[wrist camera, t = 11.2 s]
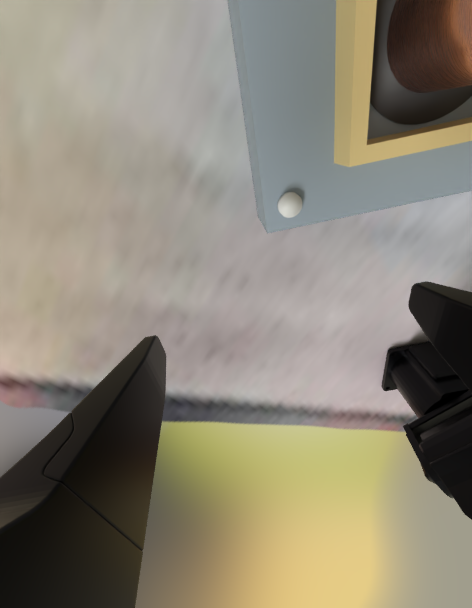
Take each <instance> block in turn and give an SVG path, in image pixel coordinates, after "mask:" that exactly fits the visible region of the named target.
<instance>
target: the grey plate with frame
mask: <svg viewBox="0 0 472 608" xmlns="http://www.w3.org/2000/svg"><path fill="white" fill-rule="evenodd" d="M395 2H396V0H228V5H229V12H230V19H231V27H232V34H233V41H234V48H235V55H236V62H237V70H238V77H239V84H240V91H241V98H242V105H243V112H244V120H245V127H246V134H247V141H248V148H249V155H250V162H251V170H252V177H253V184H254V191H255V198H256V205H257V212H258V217H259V219H260V221H261V223H262V225H263V226H264V228H265V230H266V232H267V233H271V232H276V231H281V230H286V229H291V228H295V227H300V226H305V225H310V224H315V223H319V222H324V221H329V220H334V219H339V218H343V217H348V216H353V215H358V214H362V213H367V212H372V211H377V210H382V209H386V208H391V207H396V206H401V205H406V204H410V203H415V202H420V201H425V200H429V199H434V198H439V197H444V196H449V195H453V194H458V193H463V192H468V191H472V85H469V86H464V87H458V88H452V89H446V90H440V91H434V92H428V93H416V92H412V91H409V90H407V89H405V88H404V87H403V86H401V85H400V84H399V83H398V82H397V80H396V79H395V77H394V75H393V73H392V71H391V69H390V65H389V62H388V56H387V34H388V26H389V22H390V18H391V14H392V11H393V8H394V5H395Z"/></svg>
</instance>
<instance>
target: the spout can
mask: <svg viewBox="0 0 472 608" xmlns="http://www.w3.org/2000/svg"><path fill="white" fill-rule="evenodd" d="M387 56H388V62H389V65H390V69H391V71H392V73H393V75H394V77H395V79H396V80H397V82H398V83H399V84H400V85H401V86H403V87H404V88H405V89H407V90H409V91H412V92H416V93H428V92H434V91H440V90H446V89H452V88H458V87H464V86H469V85H472V0H396V2H395V5H394V8H393V11H392V14H391V18H390V22H389V26H388V34H387Z"/></svg>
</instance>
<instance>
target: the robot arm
mask: <svg viewBox="0 0 472 608" xmlns="http://www.w3.org/2000/svg"><path fill="white" fill-rule="evenodd" d="M409 309H410V311H411V313H412V314H413V316H414V318H415V319H416V321H417V322H418V324H419V325H420V327H421V328H422V330H423V331H424V333H425V334H426V336H427V337H428V339H429V340H430V342H426V343H421V344H415V345H410V346H405V347H400V348H394V349H391V350H389V351H388V352H387V357H386V363H385V369H384V375H383V381H382V388H383V390H384V391H389V390H395V389H398V390H399V392H400V393H401V394H402V396H403V397H404V399H405V400H406V401H407V403H408V404H409V406H410V407H411V408H412V410H413V411H414V412H415V414H416V415H417V417H418V419H416V420H415V421H413V422H411V423H409V424H408V423H407V424H405V425H404V426H403V427H404V429H405V431H406V433H407V434H406V436H407V438H408V440H409V442H410V443H411V445H412V447H413V449H414V451H415V453H416V455H417V457H418V459H419V461H420V463H421V466H422V469H423V471H424V474H425V476H426V478H427V479H428V480H429V481H431V482H433V483H435V484H437V485H438V486H439V488H440V489H441V490H442V491H443V492H444V493H445V494H446V495H447V496H449V497H450V498H454V499H455V500H456V502H457V503H458V505H459V506H460V508H461V509H462V511H463V512H464V513H465V515H467V516H468V517H469V518H470V519H472V292H468V291H464V290H460V289H456V288H452V287H447V286H443V285H439V284H435V283H431V282H421V283H416V284H414V285H413V286H412V289H411V294H410V299H409ZM165 388H166V354H165V351H164V349H163V346H162V344H161V342H160V340H159V338H158V337H157V336H156V335H155V336H150V337H145V338H144V339H143V340H142V341H141V342H140V343H139V344H138V345H137V346H136V347H135V348H134V349H133V350H132V351H131V352H130V353H129V354H128V355H127V356H126V357H125V358H124V359H123V360H122V361H121V362H120V363H119V364H118V365H117V366H116V367H115V368H114V369H113V370H112V371H111V372H110V373H109V374H108V375H107V376H106V377H105V378H104V379H103V380H102V381H101V382H100V383H99V384H98V385H97V386H96V387H95V388H94V389H93V390H92V391H91V392H90V393H89V394H88V395H87V396H86V397H85V398H84V399H83V400H82V401H81V402H80V403H79V404H78V405H77V406H76V407H75V408H74V409H73V410H72V413H69V414H68V415H67V416H66V417H65V418H64V419H63V420H62V421H61V422H60V423H59V424H58V425H57V426H56V427H55V428H54V429H53V430H52V431H51V432H50V433H49V434H48V435H47V436H46V437H45V438H44V439H42V440H41V441H40V442H39V443H38V444H37V445H36V446H35V447H34V448H33V449H32V450H30V451H29V452H28V453H27V454H26V455H25V456H24V457H23V458H22V459H20V460H19V461H18V462H17V463H16V464H15V465H14V466H13V467H12V468H10V469H9V470H8V471H7V472H6V473H5V474H4V475H2V476H1V477H0V608H135V603H136V597H137V589H138V582H139V575H140V568H141V562H142V555H143V552H142V550H143V547H144V540H145V533H146V526H147V519H148V512H149V505H150V499H151V492H152V485H153V478H154V471H155V464H156V457H157V450H158V443H159V437H160V430H161V423H162V416H163V409H164V402H165Z"/></svg>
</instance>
